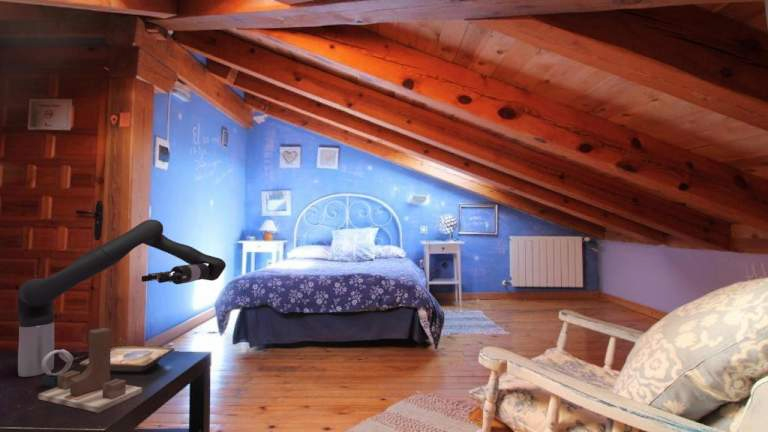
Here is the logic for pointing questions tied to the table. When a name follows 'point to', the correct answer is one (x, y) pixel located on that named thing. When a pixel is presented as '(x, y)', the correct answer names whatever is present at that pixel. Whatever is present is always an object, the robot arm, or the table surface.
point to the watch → (52, 378)
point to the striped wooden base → (90, 394)
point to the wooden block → (94, 364)
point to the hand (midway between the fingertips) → (150, 279)
